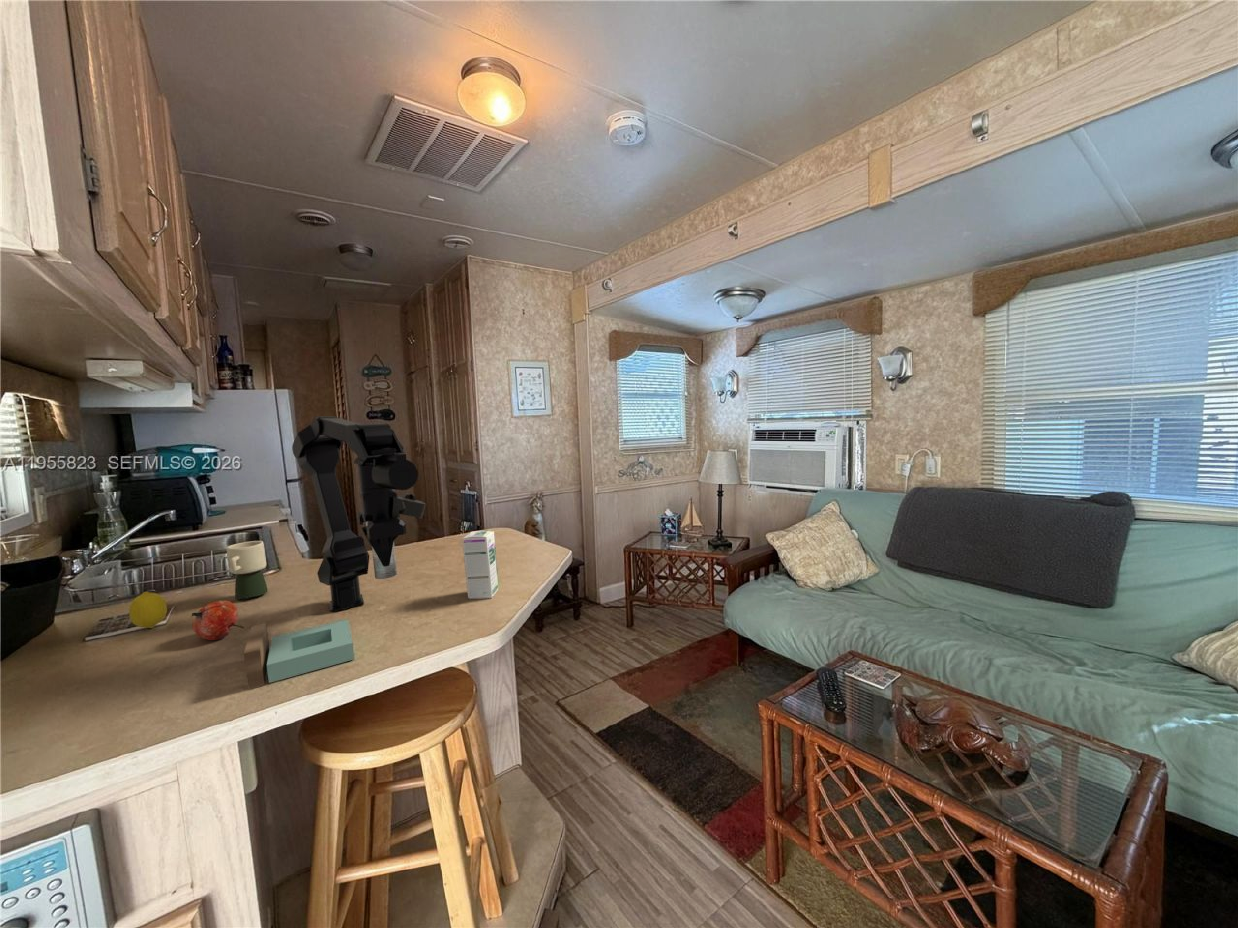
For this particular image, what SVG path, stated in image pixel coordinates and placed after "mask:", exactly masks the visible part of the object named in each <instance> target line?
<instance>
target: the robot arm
mask: <svg viewBox="0 0 1238 928" xmlns="http://www.w3.org/2000/svg"><path fill="white" fill-rule="evenodd" d="M344 443H345V444H347V448H348V449H349V450H350V451H352V452H354V454H355V455H356V456H357V457H356V458H355V459H354V461H353V464H354V465H357V468H358V478H359V487H360V492H359V498H360V499H361V506H362V509H361V510H359V512H358V513H357V515H356V516H357V524H358V525H360V526H362V527H360V529H361V532H362V533H363V534H364V536H365V538H366V539H367V541H368V543H369V544H370V546H371V548H372V547H373V549H374V551H375V552H376V554H377V556H378V558H379V560H380V561H381V563H382V565H383V566H384V567H385V566H389V565H390V559H391V553H392V547H393V542H394V543H395V540H396V539H397V538H398V537H399V536H403V535H406V534H407V526H406V523H405V522H404V521H403V520H402V519H401V518H400V515H402V516H403V515H404V516H408V517H413V518H415V519H419V520H420V519H423V515H424V512H425V509H426V505H427V504H426V503H425V502H424V501H421V500H417V499H416V497H415V494H413V493H408V492H405V494H403V495H402V496H398V492H396V490H398V491H407V490H409V489H412V488H413V487H414V486H415V485H416V483H417V481H418V478H419V471H418V469H417V467H416V465H415V464H414V463H413V462H412V461H410V460H408V459H407V454H406V453H405V451H404V446H403V445H402V443H401V442H400V441H399V438H398V437H397V434H396V433H395V431H394V430H393V429H392V426H391V425H390V424H389V423H386V422H378V423H374V422H373V423H359V422H355V421H351V420H347V419H344V418H341V417H339V416H338V417H337V416H336V415H333V416H331V415H330V416H316V417H314V418H312V420H311V422H310V424H309V425H308V426H307V425H306V427H305V428H303V429H301V430H300V431H299V432H297V434H296V436H295V437H294V441H293V442H292V447H291V448H292V454H293V456H294V457H295V458H296V460H297V463H298V466H299V468H300V469H302V470H303V471H304V472H305V473H306V474H308V476H310V478H311V483H312V485H313V489H314V493H315V497H316V501H317V505H318V509H319V512H320V515H321V519H322V524H323V527H324V530H325V534H326V542H325V543H324V546H323V549H322V551H321V553H322V561H321V564H320V566H319V568H318V571H317V577H318V581H319V582H320V583H321V584H324V585H326V586H329V590H330V598H331V600H330V601H329V608H330V612H332V613H333V612H336V611H341V610H346V609H350V608H354V607H359V606H363V605H365V601H364V598H363V594H361V587H360V586H361V584H360V578H359V577H360V576H364V575H368V573H369V564H370V554H369V552H368V550H367V549H366V545H365V539H364V538H363V537H362V536H361V535H359V536H357V534H355V533H354V532H353V531H352V529H351V525H350V521H349V519H348V513H347V509H346V507H345V503H344V500H343V495H342V492H341V491H342V490H341V487H340V484H339V481H338V478H337V477H338V476H337V474H336V468H337V466H338V463H339V461H340V458H341V455H340V451H341V449H342V447H343V445H344ZM364 523H365V526H363V525H364Z"/></svg>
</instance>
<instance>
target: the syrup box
mask: <svg viewBox="0 0 1238 928" xmlns="http://www.w3.org/2000/svg"><path fill="white" fill-rule="evenodd" d="M461 539H462V550H463V559H464V568H465V579H466V590H467V599H469V600H470V599H471V600H478V599H479V600H480V599H493V598H494V595H496V593H497V592H498V590H499V589H500V584H499V581H500V580H499V572H498V571H499V570H498V559H497V551H496V550H497V549H496V541H495V539H496V538H495V531H494V530H476V531H475V530H474V531H470V532H469V533H468V534H467V535H465V536H464V537H462V538H461Z"/></svg>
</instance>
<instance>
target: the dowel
mask: <svg viewBox="0 0 1238 928" xmlns="http://www.w3.org/2000/svg"><path fill="white" fill-rule="evenodd" d="M395 549H396V547H395V541H394V542H393V547H392V553H391V559H390V565H389V566H385V567H384V566H383V565H382V563H381V561H380V560H379V558H378V556H377V554H376V552H375V551H374V549H373V547H372V546H371V551H372V560H373V571H374V578H375V579H377V580H385V579H390V578H394V577H395V576H397V575H398V571H397V562H396V561H397V560H396V551H395Z"/></svg>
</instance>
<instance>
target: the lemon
mask: <svg viewBox="0 0 1238 928" xmlns="http://www.w3.org/2000/svg"><path fill="white" fill-rule="evenodd" d="M167 612H168V607H167V603H166V600H165V598H164V597H163V596H162V595H160V594H158V593H156V592H149V591H143V592H142V593H141V594H140V595H138V596H136V597H135V598H134V599H133V600H132V601H131V603H130V605H129V608H128V615H129V619H130V621H131V622H132V624H134V625H135V626H136V627H139V628H145V629H146V628H147V629H148V628H150V627H153V626H155V627H156V625H158V624H159V623H161V622H162V621H163V620H164V619H165V617H166V616H167Z"/></svg>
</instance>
